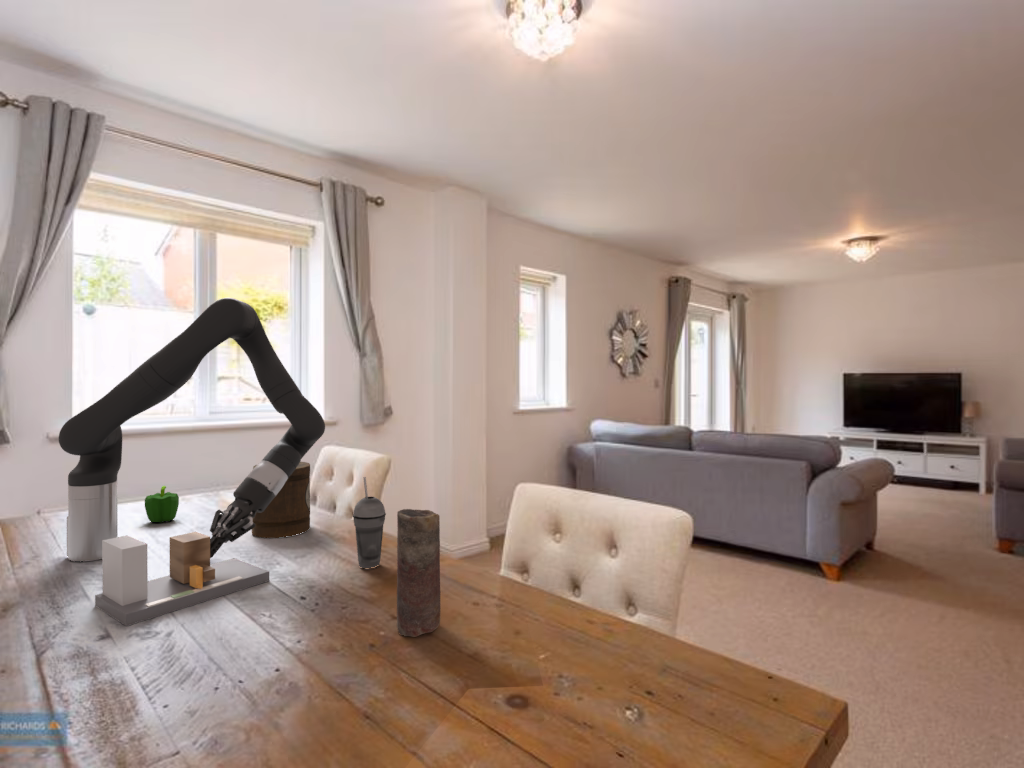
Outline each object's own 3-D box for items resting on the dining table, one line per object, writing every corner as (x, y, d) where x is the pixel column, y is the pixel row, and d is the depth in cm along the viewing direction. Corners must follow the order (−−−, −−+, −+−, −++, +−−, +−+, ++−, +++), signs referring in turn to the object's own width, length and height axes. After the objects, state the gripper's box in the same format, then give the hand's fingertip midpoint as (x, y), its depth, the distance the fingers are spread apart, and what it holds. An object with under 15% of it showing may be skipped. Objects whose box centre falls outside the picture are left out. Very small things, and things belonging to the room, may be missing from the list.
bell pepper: (167, 525, 158) (167, 490, 157) (138, 525, 158) (138, 489, 158) (185, 517, 166) (185, 484, 166) (158, 517, 166) (157, 484, 166)
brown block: (195, 570, 115) (195, 531, 115) (222, 581, 109) (222, 541, 109) (169, 577, 111) (169, 537, 111) (196, 589, 105) (196, 547, 105)
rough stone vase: (399, 619, 98) (399, 506, 98) (441, 618, 99) (441, 505, 98) (394, 639, 90) (394, 517, 90) (439, 638, 91) (440, 516, 91)
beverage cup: (377, 572, 121) (377, 481, 121) (346, 570, 122) (346, 479, 122) (391, 561, 128) (391, 475, 128) (361, 559, 129) (362, 473, 129)
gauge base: (234, 567, 124) (234, 513, 124) (269, 580, 116) (269, 523, 116) (95, 605, 103) (94, 541, 103) (126, 626, 95) (126, 555, 94)
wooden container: (321, 528, 155) (321, 450, 155) (273, 542, 143) (273, 456, 142) (288, 521, 163) (288, 446, 163) (240, 533, 151) (240, 451, 150)
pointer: (196, 583, 108) (196, 565, 108) (206, 588, 105) (206, 569, 105) (189, 585, 107) (189, 566, 107) (200, 590, 104) (200, 571, 104)
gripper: (233, 472, 125) (176, 540, 116) (267, 479, 118) (208, 552, 108) (256, 492, 130) (202, 558, 120) (289, 499, 122) (235, 571, 112)
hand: (205, 555), depth 114 cm, fingers closed
